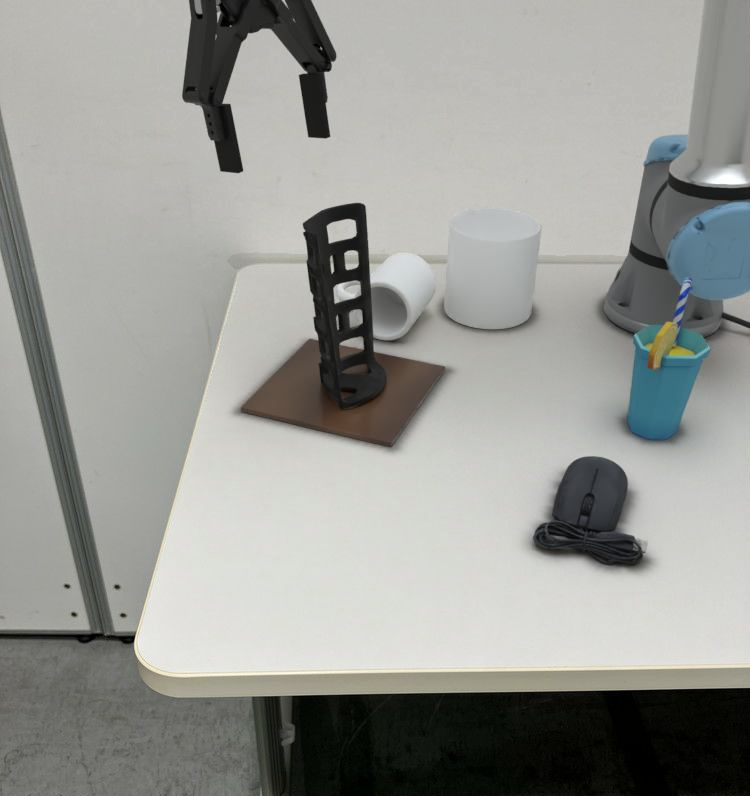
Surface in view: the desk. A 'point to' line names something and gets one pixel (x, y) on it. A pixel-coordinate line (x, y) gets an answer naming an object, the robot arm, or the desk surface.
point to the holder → (342, 305)
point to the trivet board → (312, 407)
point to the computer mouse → (591, 512)
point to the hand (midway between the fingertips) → (277, 154)
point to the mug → (395, 294)
